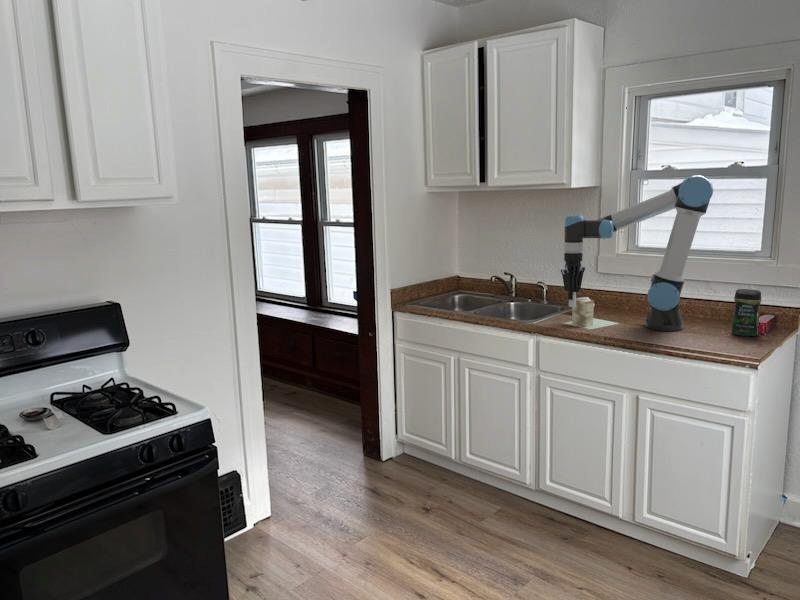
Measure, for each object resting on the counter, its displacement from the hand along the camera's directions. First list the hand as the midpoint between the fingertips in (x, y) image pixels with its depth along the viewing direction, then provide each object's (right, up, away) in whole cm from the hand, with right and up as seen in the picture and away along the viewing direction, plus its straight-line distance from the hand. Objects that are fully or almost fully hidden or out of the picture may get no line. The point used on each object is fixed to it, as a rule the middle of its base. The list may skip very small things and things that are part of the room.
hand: (572, 306), depth 282 cm
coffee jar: (+65, -11, -17) cm, 68 cm away
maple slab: (+6, -8, +6) cm, 11 cm away
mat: (+10, -8, +9) cm, 16 cm away
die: (+13, -4, +29) cm, 32 cm away
